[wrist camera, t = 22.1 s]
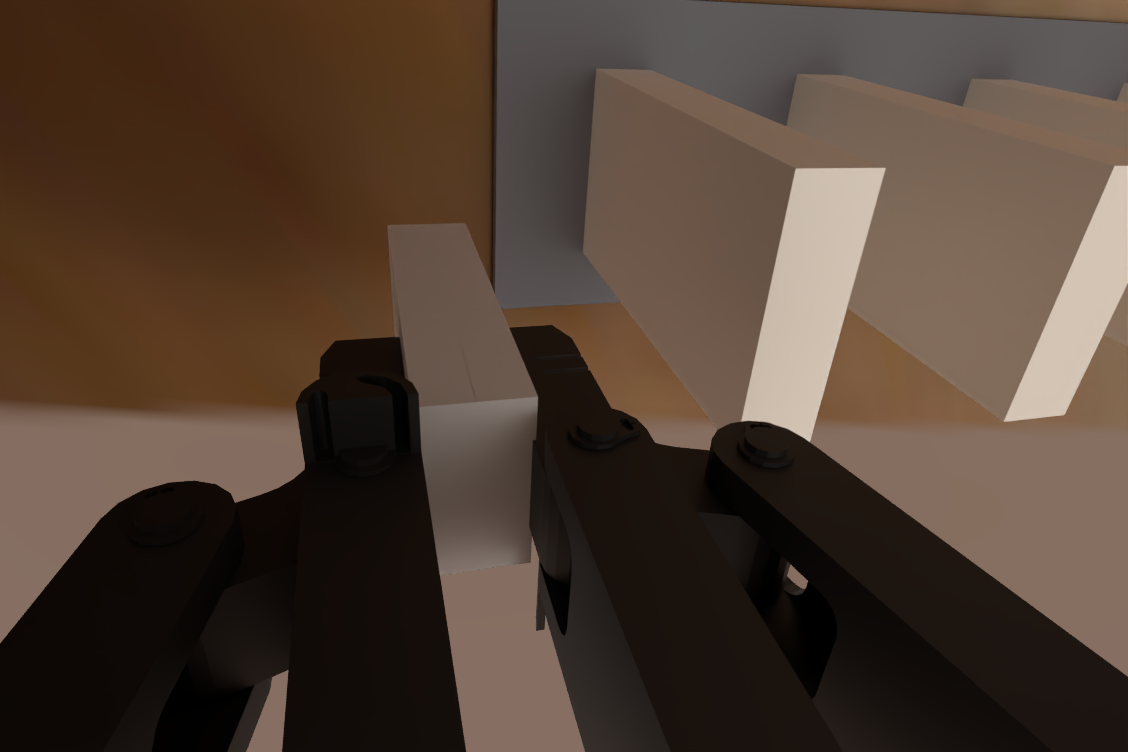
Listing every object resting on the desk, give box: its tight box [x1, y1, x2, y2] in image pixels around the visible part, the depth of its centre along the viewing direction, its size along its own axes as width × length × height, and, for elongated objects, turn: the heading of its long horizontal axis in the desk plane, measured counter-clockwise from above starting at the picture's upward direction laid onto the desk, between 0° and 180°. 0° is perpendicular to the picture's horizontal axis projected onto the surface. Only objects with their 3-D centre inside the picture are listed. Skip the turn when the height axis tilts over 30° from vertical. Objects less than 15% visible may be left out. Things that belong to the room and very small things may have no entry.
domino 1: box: [583, 68, 886, 442], centre depth 19 cm, size 2×6×12 cm, turn 177°
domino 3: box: [963, 79, 1128, 347], centre depth 22 cm, size 2×6×12 cm, turn 176°
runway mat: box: [493, 0, 1128, 309], centre depth 28 cm, size 38×10×1 cm, turn 87°
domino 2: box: [787, 74, 1128, 422], centre depth 21 cm, size 2×6×12 cm, turn 177°
